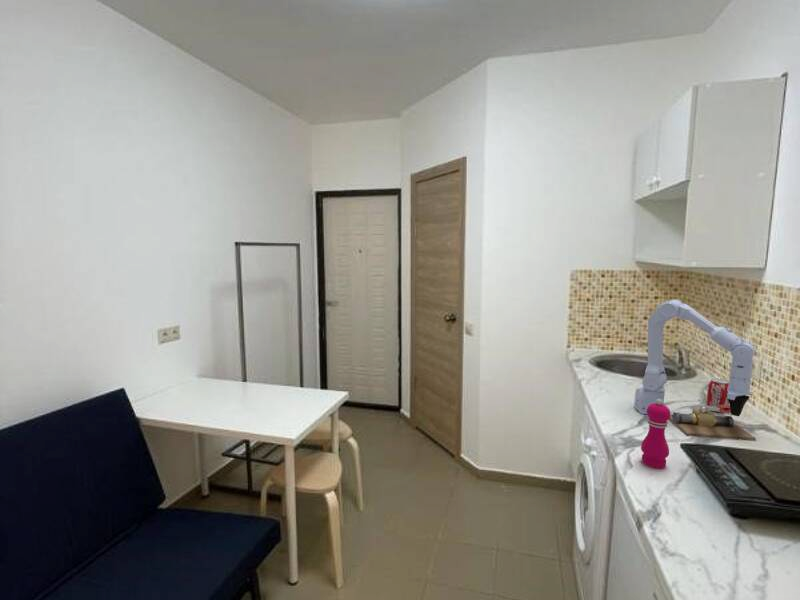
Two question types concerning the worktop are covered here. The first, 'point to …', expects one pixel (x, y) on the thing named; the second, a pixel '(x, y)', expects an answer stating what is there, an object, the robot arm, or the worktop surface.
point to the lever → (716, 408)
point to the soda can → (717, 392)
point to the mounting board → (714, 431)
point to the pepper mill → (656, 436)
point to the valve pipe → (703, 419)
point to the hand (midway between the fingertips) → (735, 415)
